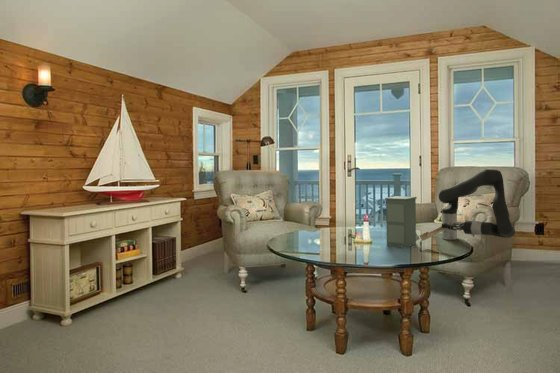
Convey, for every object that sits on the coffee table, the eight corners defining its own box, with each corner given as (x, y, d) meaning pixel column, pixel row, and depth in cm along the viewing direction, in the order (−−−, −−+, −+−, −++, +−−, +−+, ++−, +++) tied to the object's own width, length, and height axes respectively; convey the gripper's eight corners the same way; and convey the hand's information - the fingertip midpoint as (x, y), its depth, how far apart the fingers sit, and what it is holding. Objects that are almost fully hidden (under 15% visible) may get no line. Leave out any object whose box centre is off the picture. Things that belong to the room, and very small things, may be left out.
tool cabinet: (396, 241, 272) (396, 196, 270) (417, 243, 262) (416, 196, 261) (385, 245, 261) (385, 198, 259) (406, 248, 251) (406, 198, 249)
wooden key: (425, 239, 253) (422, 234, 254) (454, 225, 241) (451, 219, 242) (422, 240, 249) (419, 235, 251) (451, 226, 237) (448, 221, 238)
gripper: (477, 219, 237) (447, 217, 248) (469, 222, 226) (438, 220, 238) (477, 232, 237) (447, 230, 249) (469, 236, 227) (438, 233, 238)
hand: (443, 225), depth 243 cm, fingers closed on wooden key, 3 cm apart
